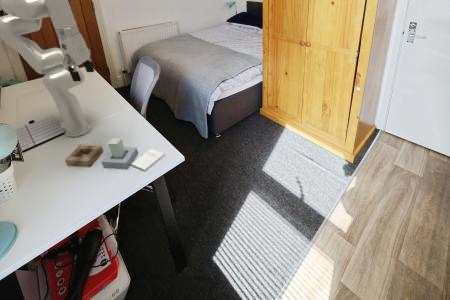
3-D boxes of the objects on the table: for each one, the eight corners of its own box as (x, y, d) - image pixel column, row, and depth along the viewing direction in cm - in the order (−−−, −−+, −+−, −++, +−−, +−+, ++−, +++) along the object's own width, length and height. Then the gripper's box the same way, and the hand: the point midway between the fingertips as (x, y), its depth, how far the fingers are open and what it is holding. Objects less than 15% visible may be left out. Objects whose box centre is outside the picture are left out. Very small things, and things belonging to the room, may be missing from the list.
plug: (115, 162, 121) (108, 143, 115) (119, 156, 124) (112, 138, 118) (123, 163, 120) (117, 144, 114) (127, 157, 124) (121, 138, 118)
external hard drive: (131, 166, 119) (151, 151, 127) (145, 172, 115) (165, 156, 123) (130, 163, 118) (151, 148, 126) (144, 169, 114) (164, 153, 122)
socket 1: (67, 165, 121) (64, 160, 120) (81, 150, 130) (79, 145, 128) (90, 166, 120) (88, 161, 118) (103, 151, 128) (101, 146, 127)
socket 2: (103, 167, 119) (101, 161, 117) (115, 151, 127) (113, 146, 126) (127, 168, 117) (125, 163, 115) (138, 152, 126) (136, 147, 124)
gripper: (62, 38, 96) (80, 85, 107) (89, 26, 110) (103, 68, 120) (43, 38, 98) (63, 85, 108) (72, 26, 111) (87, 68, 121)
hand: (84, 76), depth 114 cm, fingers open, 9 cm apart
